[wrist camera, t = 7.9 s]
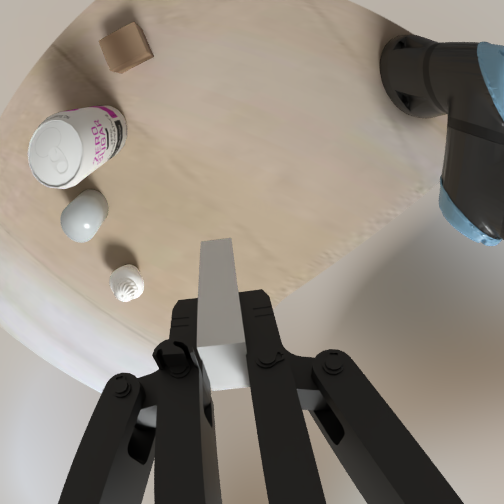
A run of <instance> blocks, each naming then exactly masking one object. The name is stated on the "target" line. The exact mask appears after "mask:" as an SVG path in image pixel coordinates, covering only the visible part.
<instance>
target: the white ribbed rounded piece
mask: <svg viewBox="0 0 504 504" xmlns="http://www.w3.org/2000/svg"><path fill="white" fill-rule="evenodd" d="M109 284H110V288H111V290H112V291H113V293H114V295H115V296H116V298H117V299H119V301H122V302H124V301H125V302H127V301H130V300H131V299H135V298H137V297H139V296H140V295H141V294H142V292H143V290H144V281H143V277H142V275H141V273H140V271H139V270H138V268H137V267H136V266H134V265H131V264H130V265H129V264H128V265H124V266H121V267H119V268H117V269H116V270H115V271H114V272H113V273H112V274H111V276H110V280H109Z"/></svg>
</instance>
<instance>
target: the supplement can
mask: <svg viewBox="0 0 504 504" xmlns="http://www.w3.org/2000/svg"><path fill="white" fill-rule="evenodd" d="M126 138H127V124H126V121H125V118H124V116H123V115H122V114H121V113H120V111H119V110H117V109H115V108H113V107H111V106H105V105H99V106H92V107H86V108H80V109H74V110H68V111H63V112H58V113H56V114H54V115H51V116H49V117H47V118H46V119H45V120H44V121H43V122H42V123H41V124H40V125H39V127H38V129H37V130H36V131H35V132H34V134H33V136H32V138H31V140H30V143H29V148H28V161H29V166H30V169H31V171H32V173H33V175H34V176H35V178H36V179H37V180H38V181H39V182H40V183H41V184H43V185H45V186H47V187H50V188H59V189H66V188H70V187H73V186H75V185H77V184H78V183H79V182H80V181H82V180H83V179H84V178H85V177H87V176H88V175H89V174H91V173H92V172H93V171H94V170H96V169H97V168H98V167H100V166H101V165H102V164H104V163H105V162H106V161H108V160H109V159H111V158H112V157H113V156H115V155H116V154H118V153H119V152H120V150H121V149H122V147H123V146H124V144H125V141H126Z"/></svg>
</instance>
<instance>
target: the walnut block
mask: <svg viewBox="0 0 504 504" xmlns="http://www.w3.org/2000/svg"><path fill="white" fill-rule="evenodd" d="M99 44H100V46H101V49H102V51H103V54H104V56H105V59H106V61H107V64H108V66H109V68H110V71H113V72H117V73H124V72H125V71H127V70H129V69H131V68H133V67H135V66H137V65H139V64H141V63H143V62H145V61H147V60H149V59H151V58H153V57H154V56H153V53H152V51H151V49H150V46H149V44H148V42H147V39H146V37H145V35H144V32H143V30H142V29H141V28H140V27H139V26H138V25H137V24H136V23H135V22H132V23H130V24H128V25H126V26H124V27H122V28H120V29H119V30H117V31H115V32H113V33H111V34H110V35H108V36H106V37H105V38H103V39H101V40H99Z"/></svg>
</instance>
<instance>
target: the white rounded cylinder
mask: <svg viewBox="0 0 504 504" xmlns="http://www.w3.org/2000/svg"><path fill="white" fill-rule="evenodd" d="M107 215H108V203H107V200H106V198H105V197H104V196H103V195H102V194H101V193H100V192H98V191H96V190H92V189H89V190H85V191H83V192H82V193H80V194H79V195H78V196H77V197H76V198H75V199H74V200H73V201H72V202H71V203H70V204H69V205H68V206H67V207H66V208H65V209H64V210H63V212H62V214H61V226H62V229H63V231H64V233H65V234H66V235H67V236H68V237H69V238H70V239H72V240H73V241H76V242H87V241H89V240H90V239H91V238H92V237H93V236H94V235H95V233H96V232H97V230H98V229H99V227H100V226H101V224H102V223H103V221H104V220H105V218H106V217H107Z"/></svg>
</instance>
